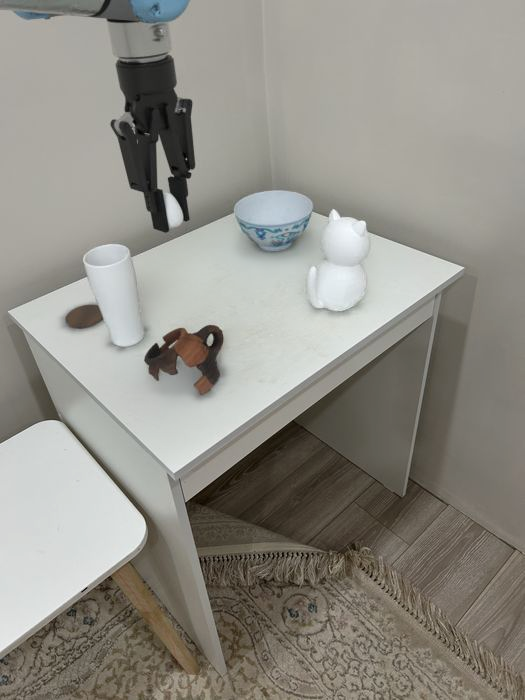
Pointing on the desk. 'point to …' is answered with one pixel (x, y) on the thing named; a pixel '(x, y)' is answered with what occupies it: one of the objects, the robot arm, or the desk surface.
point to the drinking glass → (116, 292)
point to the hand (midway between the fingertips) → (171, 223)
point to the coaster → (84, 316)
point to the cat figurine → (340, 265)
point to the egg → (173, 210)
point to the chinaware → (273, 217)
